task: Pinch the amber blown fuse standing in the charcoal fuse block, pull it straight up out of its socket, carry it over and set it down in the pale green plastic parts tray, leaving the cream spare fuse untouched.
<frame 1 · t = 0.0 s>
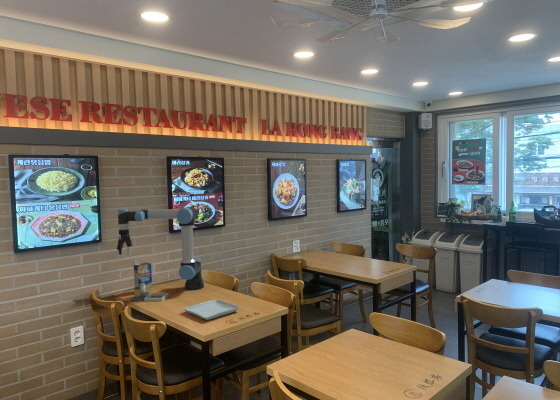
hand: (125, 256, 311), 28 cm above the table, fingers open, 13 cm apart
beverage box: (143, 292, 312), on the table
fuse block: (140, 298, 296), on the table
spare fuse: (142, 296, 300), point 1 cm above the table, touching fuse block
parts tray: (156, 299, 294), on the table
square plate: (211, 313, 262), on the table
blown fuse: (137, 299, 292), point 1 cm above the table, touching fuse block
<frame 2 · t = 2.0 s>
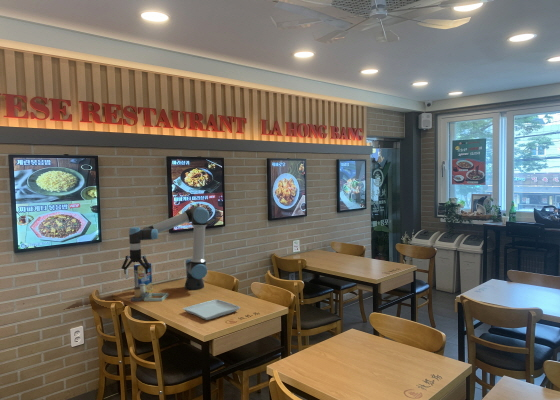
hand: (136, 278, 291), 16 cm above the table, fingers open, 13 cm apart
nothing on the table moved.
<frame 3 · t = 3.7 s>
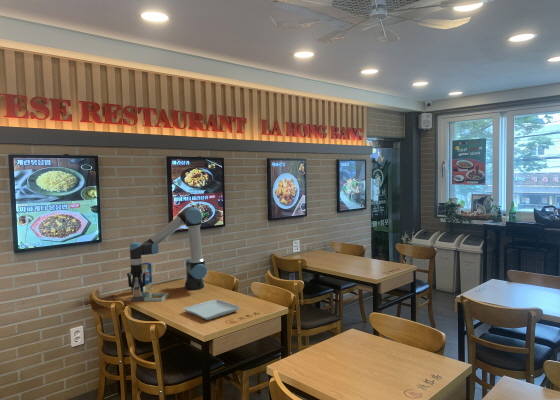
hand: (137, 296, 292), 3 cm above the table, fingers closed on blown fuse, 4 cm apart
blown fuse: (137, 299, 292), point 1 cm above the table, touching fuse block, gripper
everything else where it was.
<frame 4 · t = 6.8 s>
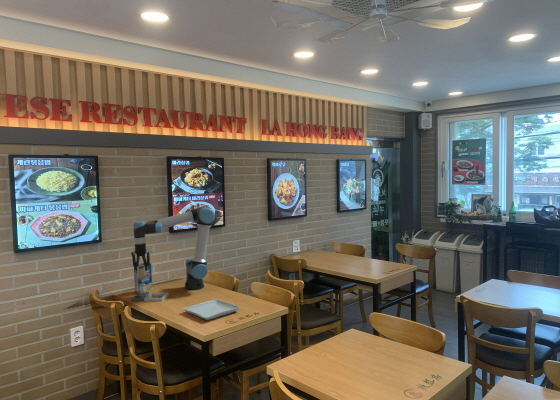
hand: (142, 275, 292), 18 cm above the table, fingers closed on blown fuse, 4 cm apart
blown fuse: (142, 278, 292), point 15 cm above the table, touching gripper
everything else where it was.
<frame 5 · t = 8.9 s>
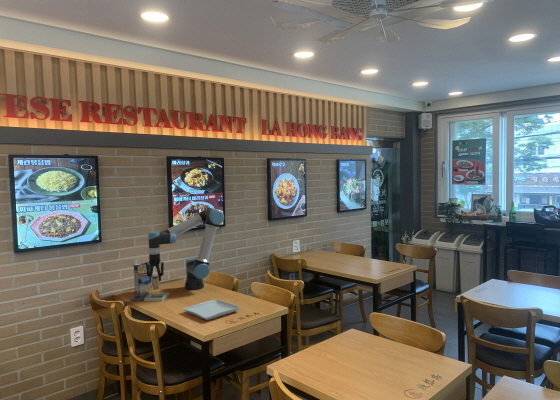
hand: (155, 285, 294), 10 cm above the table, fingers closed on blown fuse, 4 cm apart
blown fuse: (155, 288, 294), point 8 cm above the table, touching gripper
everything else where it was.
when the fingers open (5 cm above the table, at t = 10.2 s): blown fuse drops 2 cm, resting on parts tray.
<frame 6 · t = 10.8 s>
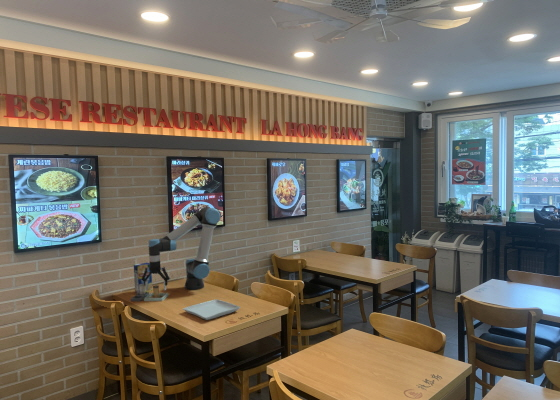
hand: (156, 289, 294), 7 cm above the table, fingers open, 13 cm apart
blown fuse: (156, 298, 294), point 1 cm above the table, touching parts tray
everything else where it was.
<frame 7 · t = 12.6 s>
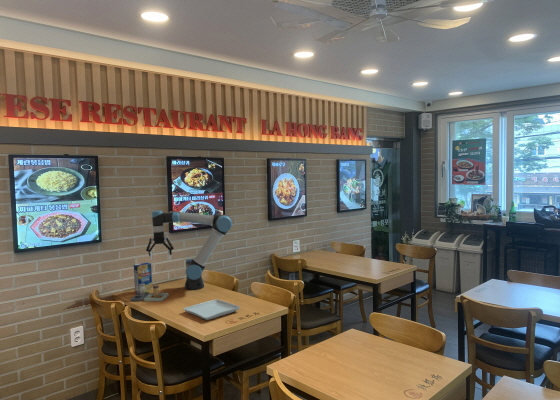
hand: (160, 259, 303), 27 cm above the table, fingers open, 13 cm apart
nothing on the table moved.
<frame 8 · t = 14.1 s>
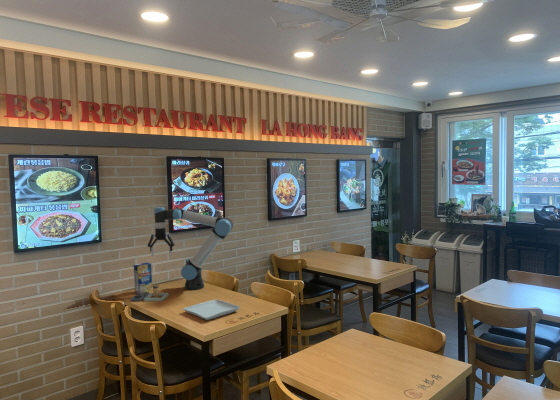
hand: (161, 255, 308), 29 cm above the table, fingers open, 13 cm apart
nothing on the table moved.
at the end: blown fuse inside the target area on the parts tray (0.0 cm from its centre), point 0.5 cm above the parts tray's base; the gripper is holding nothing; blown fuse touching parts tray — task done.
